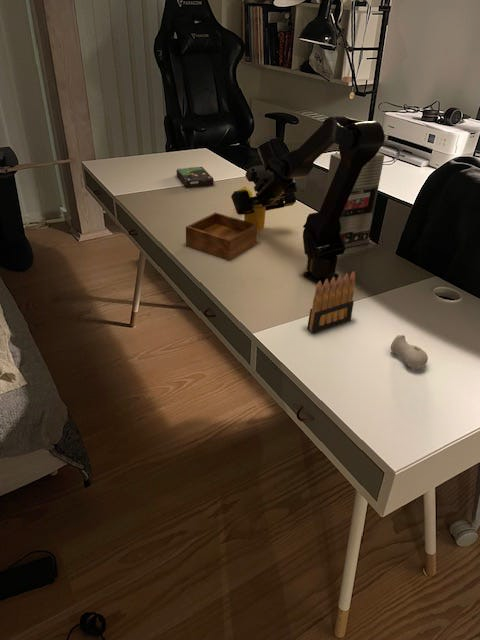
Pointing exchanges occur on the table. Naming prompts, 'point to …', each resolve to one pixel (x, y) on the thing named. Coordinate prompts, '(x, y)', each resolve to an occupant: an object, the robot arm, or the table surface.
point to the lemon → (247, 190)
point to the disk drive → (195, 177)
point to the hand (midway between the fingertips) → (252, 211)
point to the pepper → (256, 216)
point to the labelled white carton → (358, 200)
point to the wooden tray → (221, 235)
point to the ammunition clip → (332, 304)
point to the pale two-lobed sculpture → (409, 352)
